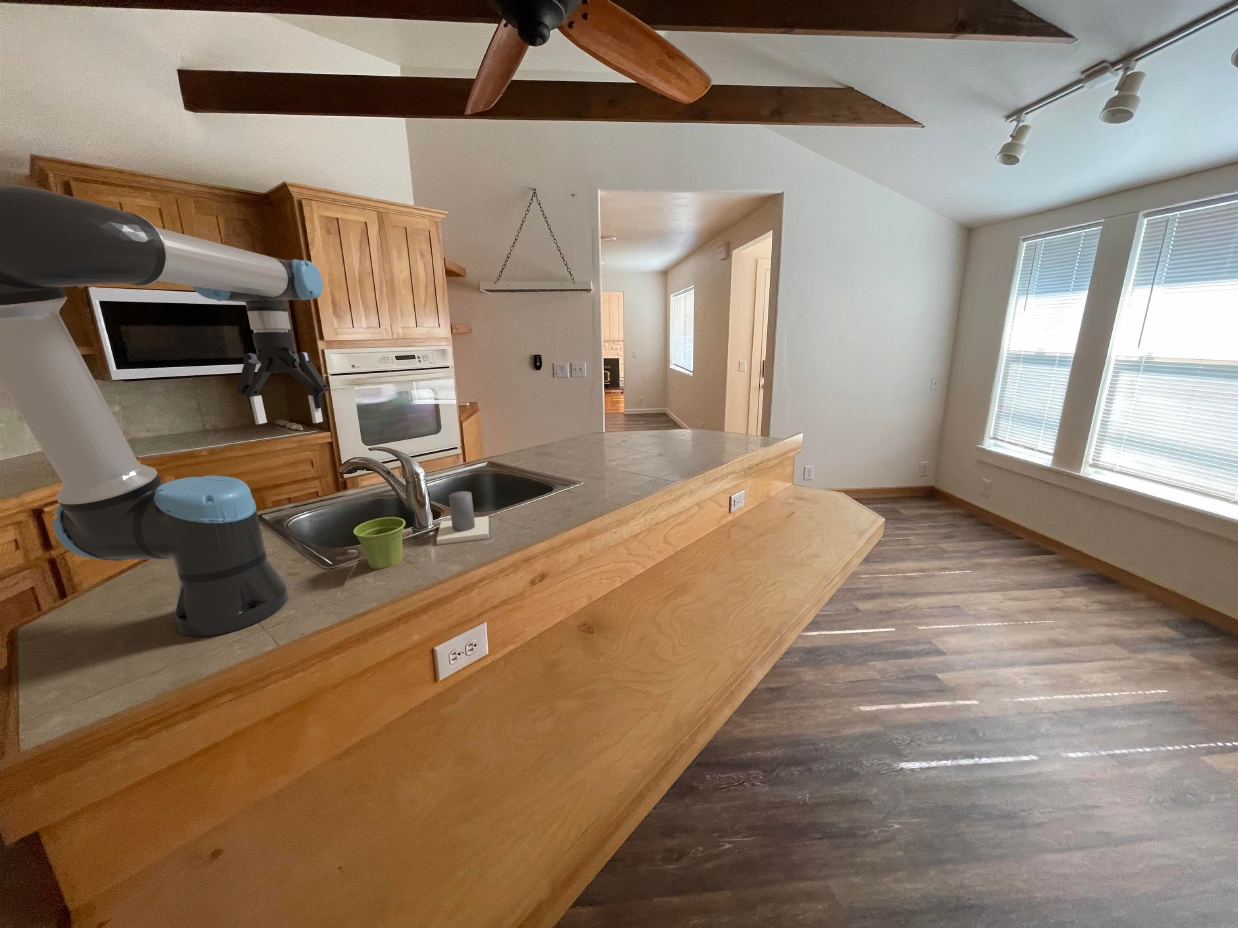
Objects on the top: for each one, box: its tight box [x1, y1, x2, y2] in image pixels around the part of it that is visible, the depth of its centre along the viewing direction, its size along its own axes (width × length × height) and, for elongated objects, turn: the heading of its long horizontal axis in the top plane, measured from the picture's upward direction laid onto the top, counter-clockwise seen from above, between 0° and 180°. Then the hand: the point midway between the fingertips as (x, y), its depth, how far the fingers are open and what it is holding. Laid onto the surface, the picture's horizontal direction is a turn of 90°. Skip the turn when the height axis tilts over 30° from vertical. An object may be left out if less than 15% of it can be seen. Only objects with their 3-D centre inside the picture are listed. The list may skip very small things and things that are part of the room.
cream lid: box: [436, 490, 490, 545], centre depth 111 cm, size 11×11×9 cm
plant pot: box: [353, 516, 406, 570], centre depth 98 cm, size 9×9×9 cm
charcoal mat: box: [434, 519, 492, 547], centre depth 113 cm, size 12×12×1 cm
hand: (289, 422), depth 116 cm, fingers open, 13 cm apart
